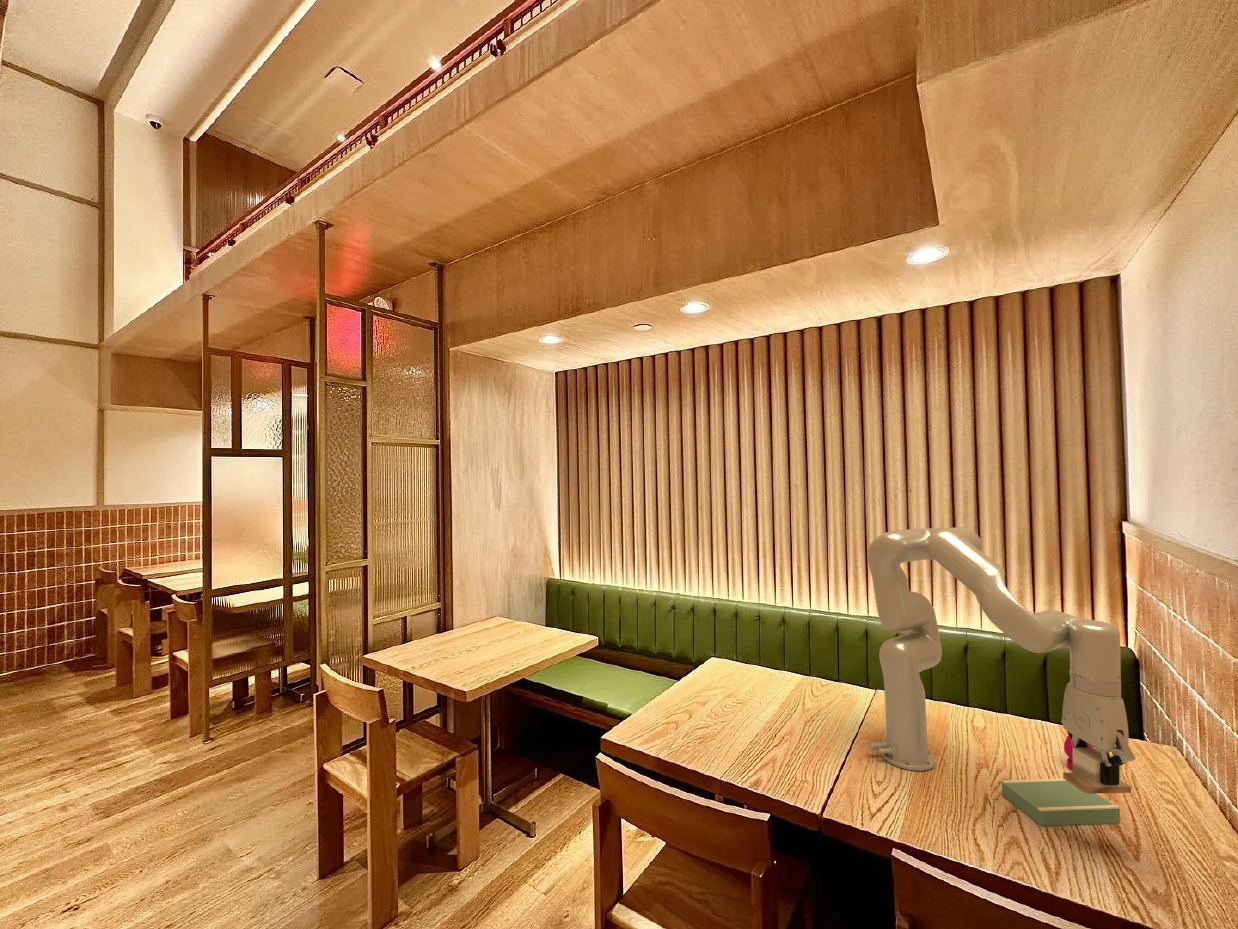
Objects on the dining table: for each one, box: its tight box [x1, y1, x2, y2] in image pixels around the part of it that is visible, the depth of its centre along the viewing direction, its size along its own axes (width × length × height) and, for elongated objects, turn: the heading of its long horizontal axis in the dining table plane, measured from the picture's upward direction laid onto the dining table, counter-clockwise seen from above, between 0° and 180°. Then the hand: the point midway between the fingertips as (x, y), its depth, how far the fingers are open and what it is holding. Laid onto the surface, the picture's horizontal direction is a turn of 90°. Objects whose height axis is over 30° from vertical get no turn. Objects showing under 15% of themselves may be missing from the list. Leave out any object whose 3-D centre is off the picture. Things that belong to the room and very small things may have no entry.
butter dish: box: [1062, 747, 1132, 794], centre depth 105 cm, size 9×5×6 cm, turn 91°
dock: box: [1001, 778, 1121, 827], centre depth 117 cm, size 17×11×3 cm, turn 91°
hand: (1096, 775), depth 105 cm, fingers closed on butter dish, 5 cm apart
